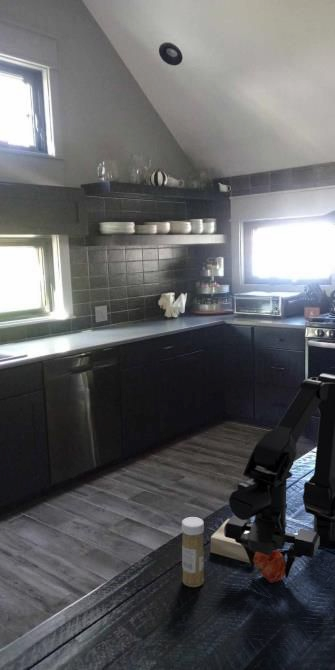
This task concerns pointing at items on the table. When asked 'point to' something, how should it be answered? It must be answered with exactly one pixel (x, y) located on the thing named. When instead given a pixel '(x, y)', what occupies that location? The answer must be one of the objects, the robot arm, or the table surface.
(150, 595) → the table surface
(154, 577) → the table surface
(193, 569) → the sprinkles bottle
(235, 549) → the pale wooden block
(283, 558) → the red oval lump
